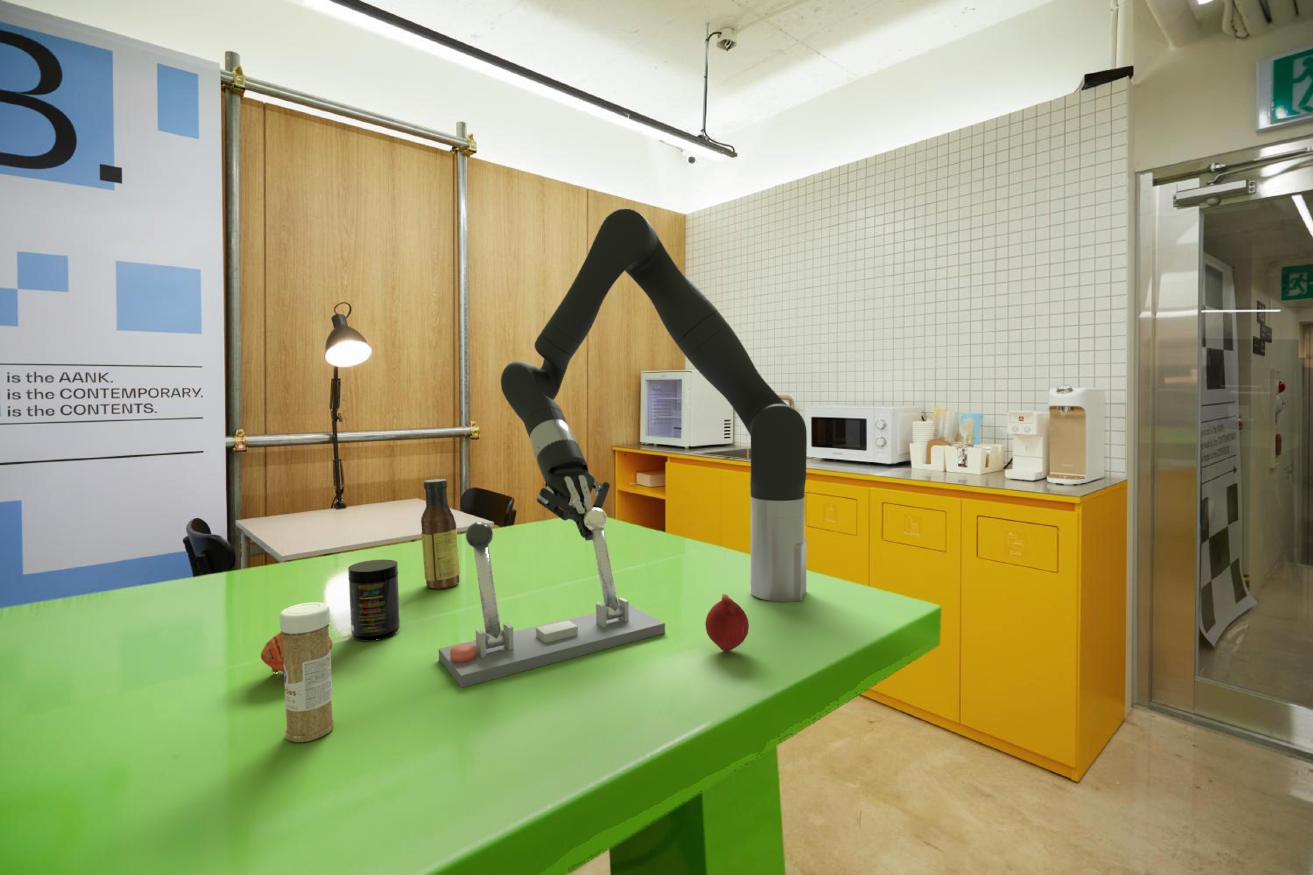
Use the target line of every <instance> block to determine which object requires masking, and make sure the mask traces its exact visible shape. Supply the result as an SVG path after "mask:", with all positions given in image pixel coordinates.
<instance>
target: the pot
mask: <svg viewBox="0 0 1313 875" xmlns="http://www.w3.org/2000/svg"><path fill="white" fill-rule="evenodd" d="M281 632H282V631H281V630H280V632H278V633H277V634H276V635H274V636H273V637H272V638H270V639H269V640H268V641H267V642H266V643H265V645H264V647H263V649H262V651H261V653H260V659H261V660H262V662H263V663H264V664H266V665H267V666H268V667H270V668H271V670H272V672H275V673H276V672H278V671H279V672H282V673H284V652H283V650H284V649H283V635H282V633H281ZM332 647H333V641H332V639H331V637H330V636H329V648H330V651H331V650H332ZM279 672H278V673H279Z"/></svg>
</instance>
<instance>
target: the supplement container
mask: <svg viewBox="0 0 1313 875" xmlns="http://www.w3.org/2000/svg"><path fill="white" fill-rule="evenodd" d="M398 564H399V563H398V561H397V560H392V559H371V560H365V561H360V562H357V563H353V564H351V565H349V566H348V567H347V572H348V573H347V574H348V578H347V579H348V588H349V590H348V591H349V592H348V593H349V609H350V611H349V612H350V630H351V636H352V638H354V639H355V640H356V639H358V640H357V641H359V640H376V639H381V640H384V639H383V638H385V639H387V638H386V637H388V638H390V637H392V636H394V635H395V633H396V632H397V633H398V631H399V630H400V627H401V623H400V598H399V596H400V595H399V568H398V567H399V565H398ZM393 634H394V635H393ZM389 636H390V637H389ZM376 641H377V640H376Z"/></svg>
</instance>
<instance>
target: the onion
mask: <svg viewBox="0 0 1313 875" xmlns="http://www.w3.org/2000/svg"><path fill="white" fill-rule="evenodd" d="M749 624H750V623H749V619H748V615H747V613H746V612H745V611H744V609H743V608H742V607H741V606H740V605H739V603H737V602H735V601H734V600H733V599H732V598H730V597H729V595H728V594H727V593H722V595H721V600H719V601H718V602H717V603H715V604H714V605H713V606H712V607H711V609H710V610H709V611H708V613H707V615H706V618H705V624H704V625H705V631H706V635H708V637H709V639H710V640H711V641H712V642H713V643H714V644H715V645H716V646H717V647H718V648H719V649H720V650H721V651H723V652H725V653H728V652H731V651H732V650H733V649H735V648H737V647H738V646H740V645H741V644H742V643H744V641H745V640H746V637H747V636H748V634H749V628H750V625H749Z"/></svg>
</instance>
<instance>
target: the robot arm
mask: <svg viewBox="0 0 1313 875" xmlns="http://www.w3.org/2000/svg"><path fill="white" fill-rule="evenodd" d="M624 272H625V273H627V274H628V275H629V277H630V278H632V279H633V281H634V282H635V283H636V285H638V287H640V289H641V290H642V291H643V292H644V293H645V295H646V296H647V297H648V298H649V300H650V302H651V303H652V305H653V306H654V308H655V310H656V313H657V314H658V316H659V318H660V319H661V322H662V325H664V327H665V329H666V330H667V332H668V334H669V335H670V336H671V338H672V340H673V341H674V343H675V344H676V345H677V347H678V348H679V349H680V351H681V352H682V354H684V356H685V357H686V358H687V359H688V361H689V362H690V364H692V366H694V368H695V369H696V370H697V371H698V372H699V374H700V375H702V376H703V378H704V379H705V380H706V381H707V382H709V383H710V384H711V386H713V387H714V388H715V390H717V391H718V392H719V393H720V394H721V395H722V396H723V397H724V398H725V400H726V401H727V402H728V403H729V405H731V407H732V408H733V410H734V411H735V413H736V414H737V415H738V417H739V419H740V421H741V422H742V425H744V427H745V428H746V430H747V432H748V434H749V436H750V481H749V482H750V484H749V485H750V487H749V488H750V593H751V595H752V596H754V597H755V598H758V599H760V600H765V601H769V602H770V601H771V602H792V601H793V602H794V601H797V602H802V601H803V598H804V597H805V594H806V592H807V538H806V537H805V505H806V504H805V501H806V500H805V499H806V498H805V497H806V496H805V494H806V492H805V490H806V489H805V488H806V482H807V460H808V459H807V458H808V457H807V450H808V449H807V447H808V445H807V444H808V439H807V438H808V437H807V435H808V432H807V431H808V430H807V425H806V422H805V420H804V418H803V416H802V415H801V414H800V413H799V411H797V409H795V408H793V407H791V406H790V405H788V404H787V403H786V402H785V401H784V400H783V399H782V398H781V397H780V396H779V395H778V394H777V393H776V392H775V390H774V389H772V387H771V386H770V385H769V384H768V383H767V382H766V380H765V379H764V378H763V377H762V376H761V374H760V373H759V371H758V370H757V368H756V367H755V365H754V363H753V361H752V360H751V357H750V356H749V354H748V352H747V350H746V349H745V346H744V345H743V343H742V342H741V340H740V339H739V337H738V336H737V333H736V332H735V331H734V330H733V328H732V327H731V326H730V324H729V323H728V322H727V321H726V319H725V318H724V316H723V315H722V313H720V311H719V310H718V309H717V308H716V307H715V305H714V303H712V302H711V300H709V299H708V298H707V296H706V295H705V294H704V293H703V292H702V291H701V290H700V289H699V288H698V287H697V286H696V285H695V284H693V283H692V281H690V280H689V278H687V276H685V275H684V274H683V272H682V271H681V270H680V269H679V267H678V266H677V265H676V262H674V260H673V259H672V257H671V255H670V254H669V252H668V251H667V249H666V247H665V246H664V244H663V242H662V241H661V240H660V237H659V236H658V234H657V232H656V230H655V228H654V227H653V226H652V224H651V223H650V222H649V221H648V219H647V218H646V217H645V216H644V215H643V214H642V213H641V212H639V211H638V210H636V209H632V208H629V207H628V208H618V209H616V210H614V211H613V212H610V213H609V214H608V215H607V216H606V217H605V219H603V221H602V223H601V225H600V227H599V229H598V231H597V233H596V236H595V237H594V240H593V242H592V244H591V247H590V249H589V251H588V253H587V256H586V257H585V260H584V262H583V263H582V266H581V268H580V270H579V271H578V273H577V276H576V277H575V279H574V280H573V282H572V284H571V286H570V287H569V289H568V291H567V292H566V294H565V296H564V297H563V299H562V300H561V301H560V304H559V305H558V307H557V308H556V309H555V311H554V313H553V314H552V315H551V317H550V318H549V320H548V321H547V323H546V324H545V326H544V327H543V329H542V330H541V332H540V333H539V335H538V336H537V337H536V340H535V342H534V350H535V351H536V352H537V353H538V355H539V356H541V357H542V358H543V359H544V360H543V362H542V365H541V367H540V368H539V367H537V366H535V365H533V364H530V363H528V362H526V361H523V360H516V361H512V362H511V363H509V364H507V365H506V366H505V368H504V369H503V371H502V374H501V377H500V387H501V391H502V394H503V396H504V398H505V399H506V401H507V403H508V404H509V405H510V407H511V408H512V410H513V411H514V412H515V414H516V415H517V416H518V418H519V419H520V420H521V421H522V422H523V424H524V428H525V430H526V433H527V435H528V438H529V440H530V444H531V449H532V453H533V455H534V458H535V460H536V462H537V465H538V469H539V470H540V473H541V476H542V478H543V480H544V482H545V484H544V487H543V488H541V489H540V491H539V493H538V496H537V498H536V502H537V503H538V504H540V505H541V506H542V507H544V508H545V509H547V510H548V511H550V512H551V513H553V514H554V515H555V516H557V518H560V519H561V520H562V521H568V520H571V521H573V522H575V524H576V527H577V529H578V532H579V534H580V536H581V537H582V538H584V540H585V541H593V539H592V533H591V530H589V529H588V528H587V527H586V526H585V523H584V516H585V514H586V512H587V511H588V510H589V509H591V508H600V509H603V505H604V503H605V500H606V497H607V495H608V492H609V489H610V487H611V485H610V483H609V482H607V481H605V482H603V483H601V482H599V481H596V479H595V476H594V474H591V473H590V471H589V468H588V463H587V460H586V459H585V456H584V454H583V452H582V450H581V447H580V446H579V443H578V441H577V438H576V435H575V434H574V432H573V431H572V429H571V428H570V426H569V424H568V422H567V420H566V417H565V415H564V413H563V412H564V411H562V409H561V407H560V405H559V404H558V403H557V402H556V401H555V399H556V397H557V395H558V394H559V391H560V389H561V386H562V383H563V380H564V378H565V375H566V372H567V369H568V366H569V363H570V361H571V359H572V358H573V356H574V355H575V354H576V352H577V351H578V349H579V348H580V346H581V345H582V343H583V342H584V341H585V339H586V338H587V336H588V334H589V333H590V331H591V329H592V327H593V325H594V323H595V320H596V318H597V316H598V313H599V311H600V310H601V306H602V305H603V302H604V301H605V298H606V296H607V295H608V293H609V291H610V290H611V288H612V287H613V285H614V284H615V282H616V281H617V280H618V279H619V277H620V276H621V275H622V274H623V273H624ZM592 490H593V493H594V497H595V500H594V504H593V503H592V495H591V493H592Z"/></svg>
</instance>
